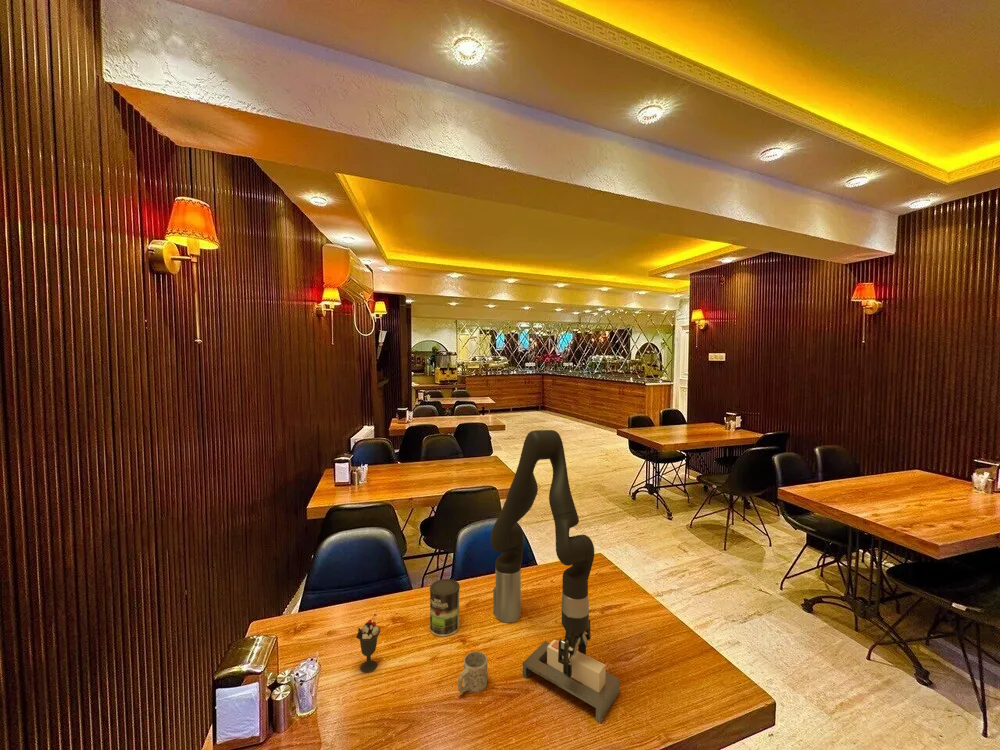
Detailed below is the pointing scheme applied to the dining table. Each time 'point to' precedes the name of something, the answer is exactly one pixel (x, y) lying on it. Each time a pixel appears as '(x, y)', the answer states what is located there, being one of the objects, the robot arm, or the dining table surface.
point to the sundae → (368, 644)
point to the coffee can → (444, 607)
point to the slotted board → (573, 682)
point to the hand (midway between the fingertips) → (575, 666)
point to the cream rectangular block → (579, 667)
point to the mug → (474, 673)
